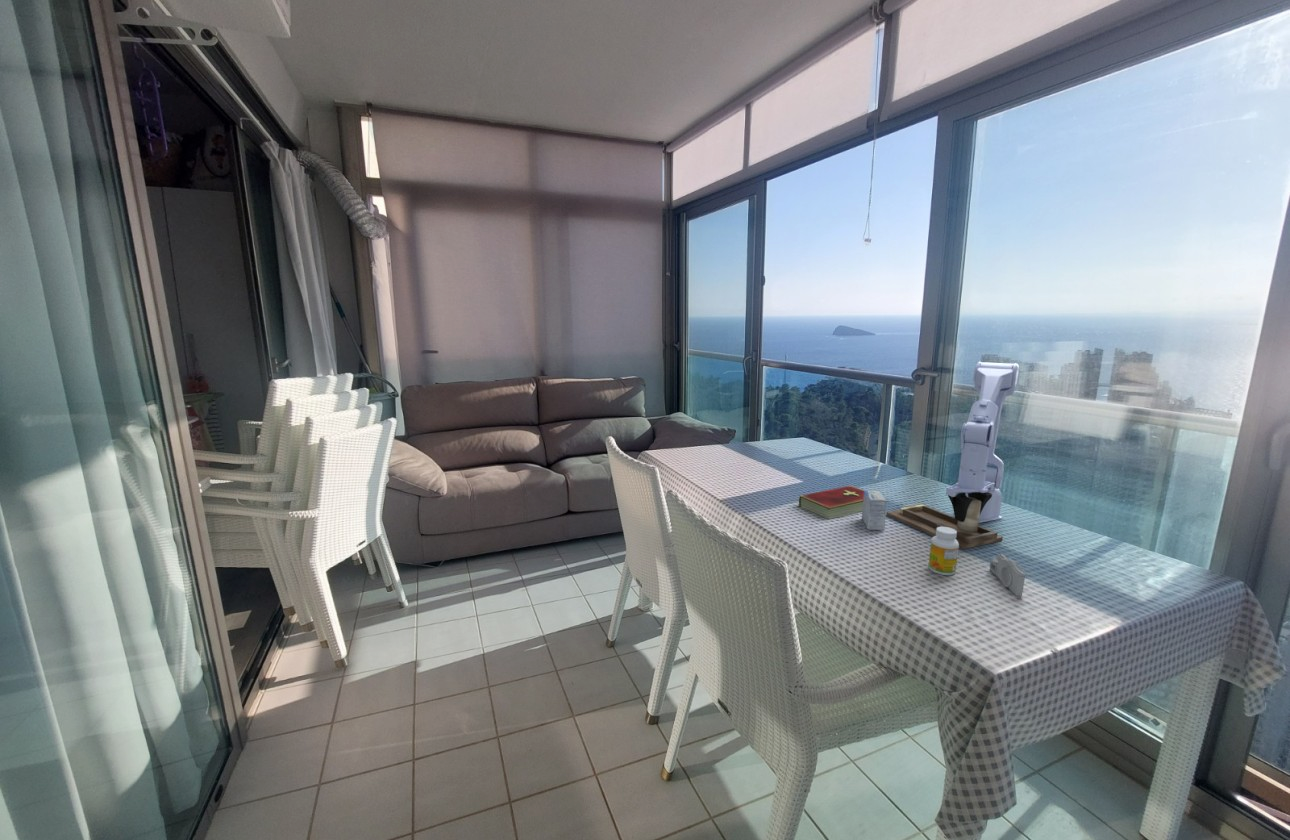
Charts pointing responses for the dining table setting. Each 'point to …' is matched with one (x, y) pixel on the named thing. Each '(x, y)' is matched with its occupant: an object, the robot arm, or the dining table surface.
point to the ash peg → (971, 517)
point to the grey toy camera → (1008, 573)
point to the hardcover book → (834, 501)
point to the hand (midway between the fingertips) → (966, 519)
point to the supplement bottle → (944, 551)
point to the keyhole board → (942, 525)
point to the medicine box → (874, 510)
